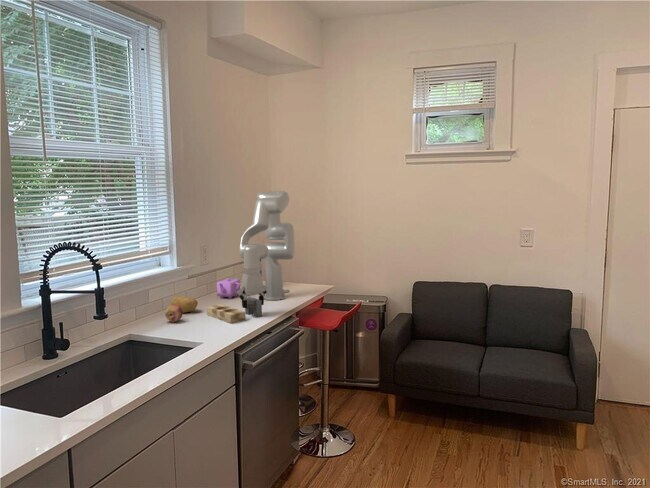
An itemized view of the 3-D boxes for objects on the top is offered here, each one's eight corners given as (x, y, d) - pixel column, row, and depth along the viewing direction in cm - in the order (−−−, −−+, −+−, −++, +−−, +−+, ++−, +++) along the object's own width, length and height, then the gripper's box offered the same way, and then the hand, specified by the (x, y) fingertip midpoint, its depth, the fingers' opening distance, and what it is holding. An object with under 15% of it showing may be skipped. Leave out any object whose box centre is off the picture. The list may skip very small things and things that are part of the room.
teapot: (243, 298, 278) (242, 279, 277) (219, 301, 274) (218, 281, 272) (238, 293, 292) (237, 275, 291) (215, 295, 288) (214, 277, 287)
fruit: (162, 322, 232) (161, 305, 231) (177, 318, 238) (176, 302, 237) (171, 325, 227) (170, 307, 226) (186, 321, 233) (185, 304, 232)
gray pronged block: (245, 313, 245) (244, 298, 244) (250, 312, 247) (249, 297, 246) (256, 317, 237) (256, 301, 236) (262, 316, 239) (261, 300, 238)
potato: (190, 315, 243) (190, 299, 242) (167, 313, 248) (166, 297, 247) (202, 311, 252) (201, 295, 251) (180, 308, 257) (179, 293, 256)
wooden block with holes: (221, 311, 249) (220, 304, 249) (245, 320, 233) (245, 311, 233) (207, 314, 244) (206, 307, 243) (230, 323, 228) (230, 315, 227)
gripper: (262, 268, 248) (263, 302, 250) (232, 272, 236) (233, 307, 238) (271, 270, 242) (272, 304, 244) (241, 274, 231) (242, 310, 233)
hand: (253, 306), depth 241 cm, fingers open, 9 cm apart
